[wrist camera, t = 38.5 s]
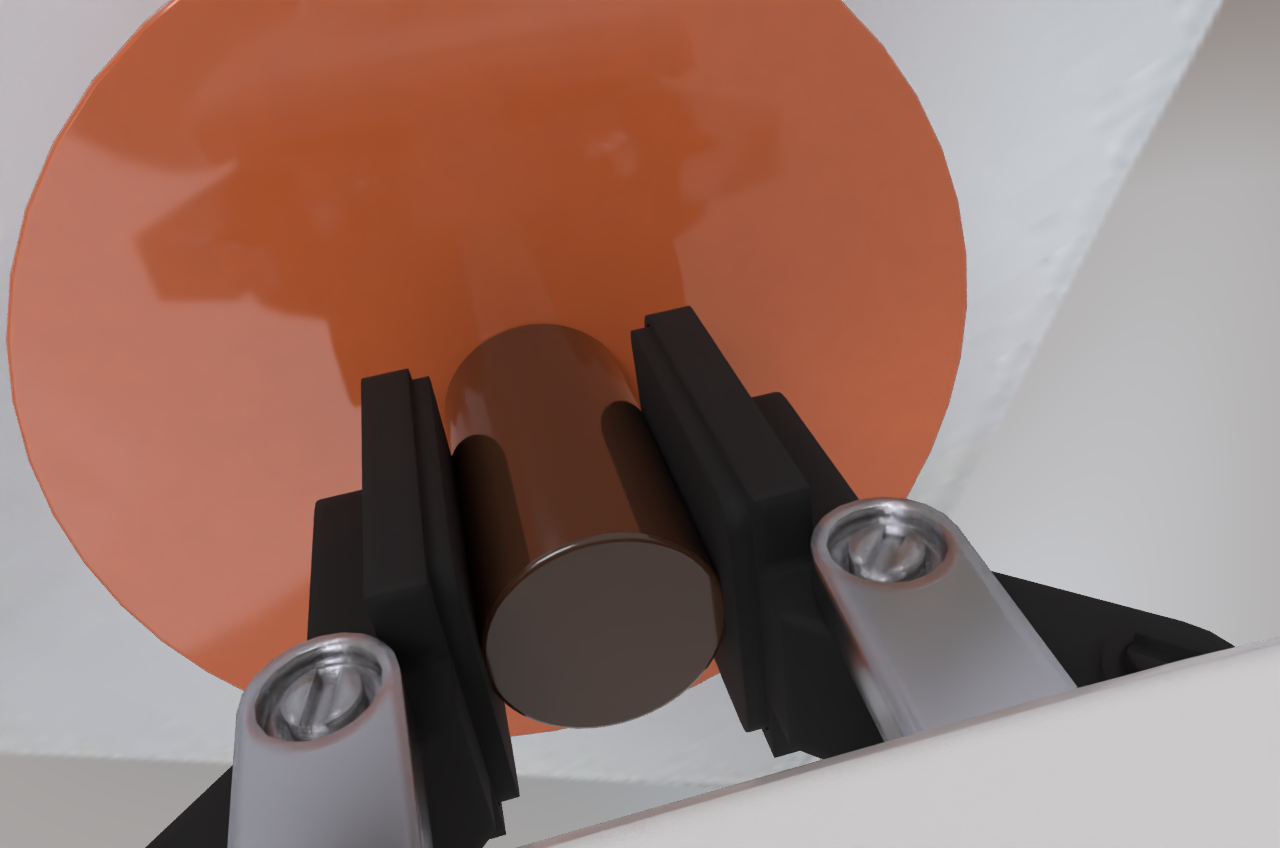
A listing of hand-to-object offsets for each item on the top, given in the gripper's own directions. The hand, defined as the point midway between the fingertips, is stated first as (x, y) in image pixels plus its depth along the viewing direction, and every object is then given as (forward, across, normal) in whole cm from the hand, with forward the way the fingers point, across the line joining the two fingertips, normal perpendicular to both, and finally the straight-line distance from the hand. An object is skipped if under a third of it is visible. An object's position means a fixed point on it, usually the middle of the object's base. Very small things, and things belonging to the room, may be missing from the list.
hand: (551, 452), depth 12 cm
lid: (+2, 0, 0) cm, 2 cm away
